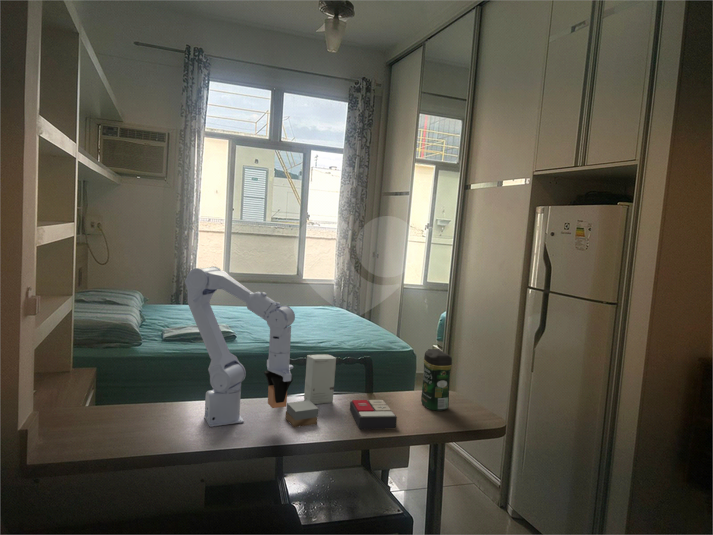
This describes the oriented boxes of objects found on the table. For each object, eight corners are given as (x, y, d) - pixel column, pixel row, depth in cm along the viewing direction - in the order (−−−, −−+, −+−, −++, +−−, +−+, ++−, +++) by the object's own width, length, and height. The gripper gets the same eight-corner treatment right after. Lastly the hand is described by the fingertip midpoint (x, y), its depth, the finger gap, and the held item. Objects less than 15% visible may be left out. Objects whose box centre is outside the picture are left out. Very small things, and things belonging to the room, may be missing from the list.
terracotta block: (272, 408, 128) (273, 390, 128) (267, 403, 132) (268, 385, 131) (286, 406, 130) (287, 388, 130) (281, 401, 133) (282, 384, 133)
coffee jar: (417, 401, 160) (421, 347, 158) (438, 400, 162) (443, 347, 160) (429, 412, 150) (433, 354, 149) (451, 411, 152) (456, 354, 151)
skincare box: (310, 405, 150) (312, 359, 149) (303, 399, 155) (305, 354, 154) (334, 402, 154) (336, 357, 153) (326, 396, 159) (329, 352, 158)
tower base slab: (294, 429, 133) (294, 420, 132) (285, 419, 139) (285, 411, 139) (316, 425, 136) (317, 416, 136) (307, 416, 142) (307, 408, 142)
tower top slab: (295, 420, 133) (295, 411, 132) (286, 411, 139) (286, 402, 138) (318, 416, 136) (318, 408, 136) (308, 408, 142) (308, 400, 142)
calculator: (384, 398, 151) (397, 414, 136) (383, 411, 151) (396, 429, 136) (350, 398, 149) (360, 415, 134) (349, 412, 149) (359, 430, 134)
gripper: (303, 356, 125) (300, 406, 126) (284, 343, 138) (281, 389, 139) (277, 358, 122) (275, 410, 123) (260, 345, 134) (258, 391, 135)
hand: (276, 399), depth 131 cm, fingers closed on terracotta block, 4 cm apart
